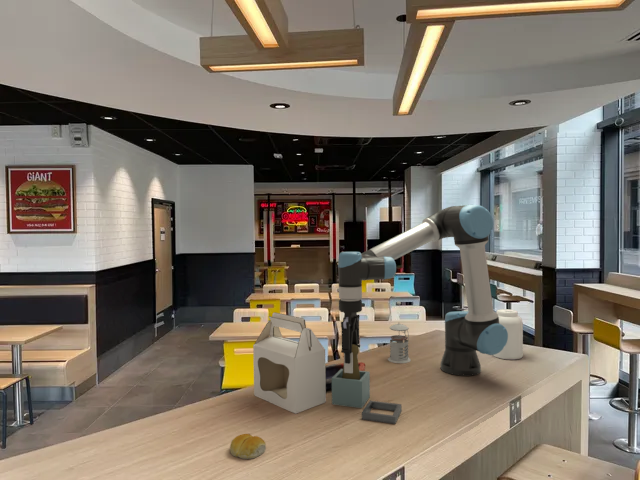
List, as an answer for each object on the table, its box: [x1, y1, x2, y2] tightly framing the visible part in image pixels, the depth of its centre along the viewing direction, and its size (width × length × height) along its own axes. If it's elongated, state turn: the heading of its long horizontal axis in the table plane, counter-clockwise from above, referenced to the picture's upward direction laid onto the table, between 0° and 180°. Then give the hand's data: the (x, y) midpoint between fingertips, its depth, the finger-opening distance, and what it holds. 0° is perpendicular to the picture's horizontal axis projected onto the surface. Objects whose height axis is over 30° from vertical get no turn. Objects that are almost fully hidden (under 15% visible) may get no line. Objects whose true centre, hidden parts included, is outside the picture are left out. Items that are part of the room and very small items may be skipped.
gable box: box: [252, 312, 327, 415], centre depth 151 cm, size 22×13×28 cm, turn 44°
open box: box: [331, 369, 371, 409], centre depth 149 cm, size 10×10×8 cm
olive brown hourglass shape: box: [342, 344, 360, 380], centre depth 149 cm, size 6×6×11 cm
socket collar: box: [361, 400, 403, 425], centre depth 137 cm, size 10×10×2 cm
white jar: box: [492, 308, 524, 360], centre depth 197 cm, size 12×12×20 cm
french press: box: [387, 301, 412, 364], centre depth 194 cm, size 10×12×25 cm
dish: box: [325, 361, 366, 391], centre depth 167 cm, size 16×31×5 cm, turn 125°
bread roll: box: [229, 433, 267, 460], centre depth 116 cm, size 8×9×4 cm
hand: (351, 369), depth 149 cm, fingers closed on olive brown hourglass shape, 5 cm apart
